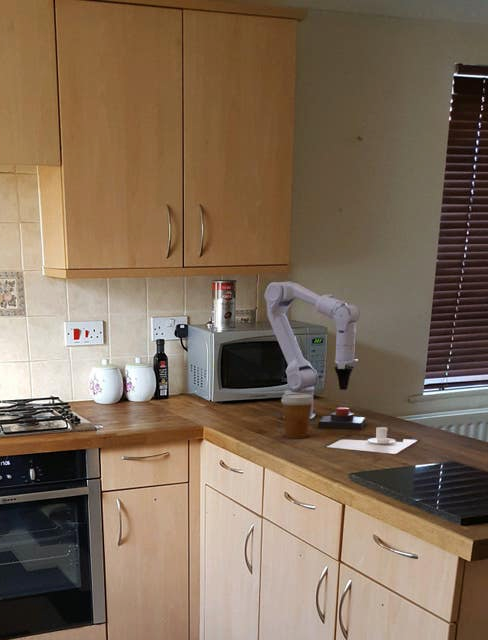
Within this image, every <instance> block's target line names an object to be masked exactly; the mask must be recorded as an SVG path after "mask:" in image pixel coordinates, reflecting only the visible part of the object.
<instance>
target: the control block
mask: <svg viewBox="0 0 488 640" xmlns="http://www.w3.org/2000/svg"><path fill="white" fill-rule="evenodd" d="M365 423H366V417H362V416H355V413H354V412H350V411H349V414H348V415H337V414H336V411H333V412H331V413H330V415H323V416H322V417H321V418H320V419H319V421H318V429H325V430H346V431H347V430H348V431H349V430H351V431H361V430H362V429H363V428H364V426H365Z"/></svg>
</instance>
